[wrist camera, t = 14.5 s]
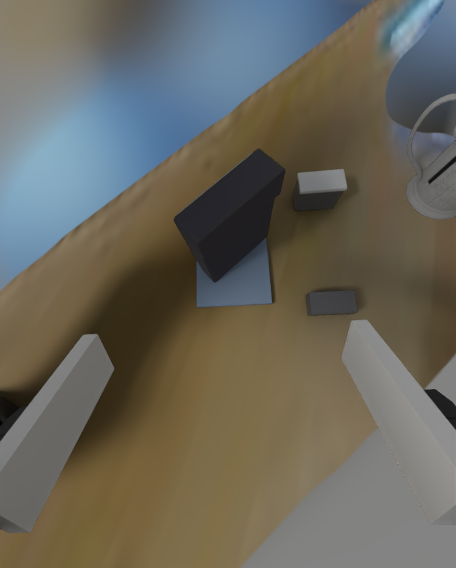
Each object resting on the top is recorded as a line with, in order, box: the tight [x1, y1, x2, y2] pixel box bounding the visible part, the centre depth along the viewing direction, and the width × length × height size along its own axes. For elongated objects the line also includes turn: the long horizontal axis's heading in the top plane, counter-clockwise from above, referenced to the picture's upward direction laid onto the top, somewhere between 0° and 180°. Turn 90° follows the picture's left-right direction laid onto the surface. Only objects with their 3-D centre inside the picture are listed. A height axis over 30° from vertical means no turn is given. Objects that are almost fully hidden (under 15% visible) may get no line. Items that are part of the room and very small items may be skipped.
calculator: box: [174, 149, 285, 283], centre depth 28 cm, size 11×4×15 cm, turn 132°
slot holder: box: [293, 169, 358, 316], centre depth 33 cm, size 6×20×5 cm, turn 2°
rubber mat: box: [197, 238, 272, 308], centre depth 36 cm, size 11×16×1 cm
